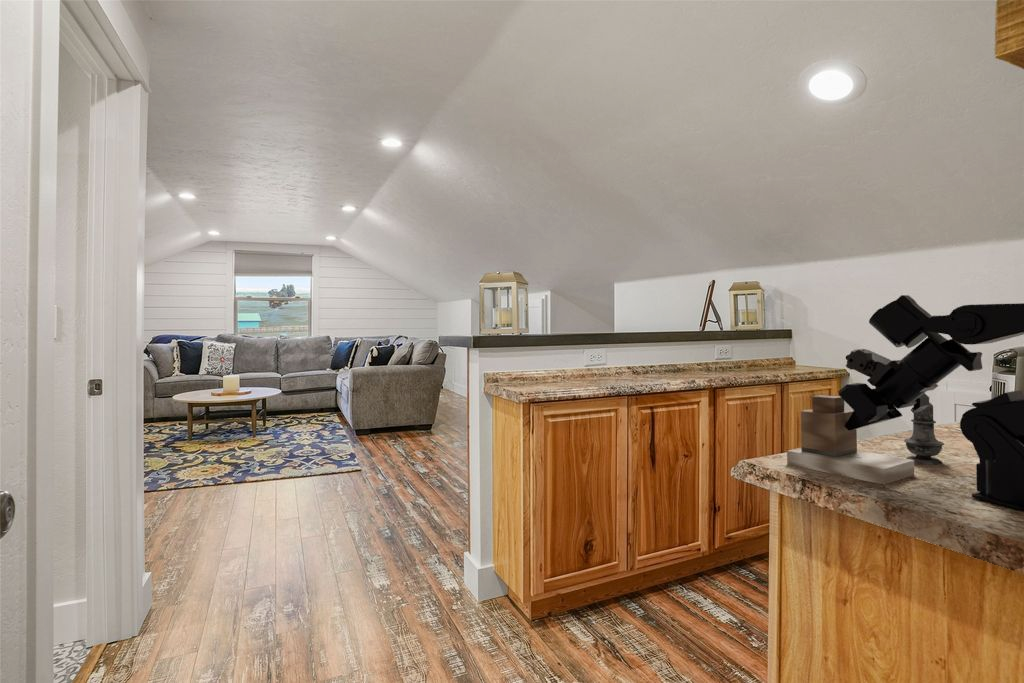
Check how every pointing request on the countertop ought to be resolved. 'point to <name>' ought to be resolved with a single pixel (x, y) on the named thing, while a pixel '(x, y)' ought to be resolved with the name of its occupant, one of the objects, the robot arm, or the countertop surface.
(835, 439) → the brown square jar
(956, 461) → the countertop surface
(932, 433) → the salt shaker
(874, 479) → the board
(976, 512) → the countertop surface
